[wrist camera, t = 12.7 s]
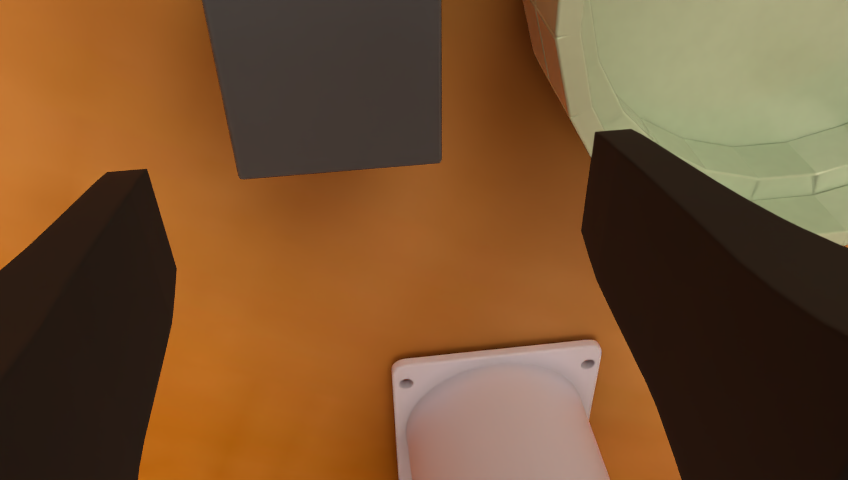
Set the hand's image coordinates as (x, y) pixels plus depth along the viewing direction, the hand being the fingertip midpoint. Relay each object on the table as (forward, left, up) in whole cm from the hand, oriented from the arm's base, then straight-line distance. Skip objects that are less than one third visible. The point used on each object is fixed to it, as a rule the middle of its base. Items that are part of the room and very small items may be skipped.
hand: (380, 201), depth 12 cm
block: (0, +1, -9) cm, 9 cm away
